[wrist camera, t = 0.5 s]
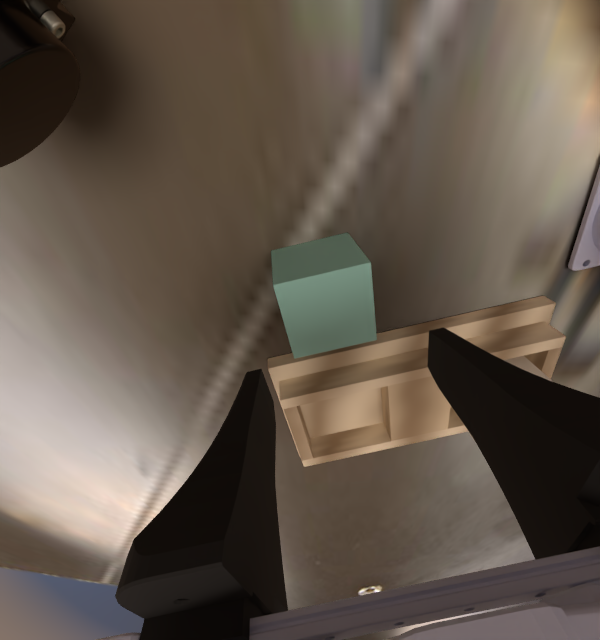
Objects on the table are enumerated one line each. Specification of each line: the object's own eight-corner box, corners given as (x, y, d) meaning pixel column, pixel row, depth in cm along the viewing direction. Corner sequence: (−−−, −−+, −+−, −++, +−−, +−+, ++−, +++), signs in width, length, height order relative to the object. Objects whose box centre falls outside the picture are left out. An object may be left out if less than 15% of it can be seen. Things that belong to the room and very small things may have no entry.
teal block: (347, 232, 19) (370, 262, 15) (355, 298, 22) (376, 340, 18) (271, 250, 19) (273, 285, 15) (288, 314, 22) (294, 358, 18)
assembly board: (543, 295, 23) (579, 317, 21) (514, 398, 30) (538, 425, 27) (267, 358, 24) (268, 387, 21) (298, 445, 30) (302, 476, 28)
